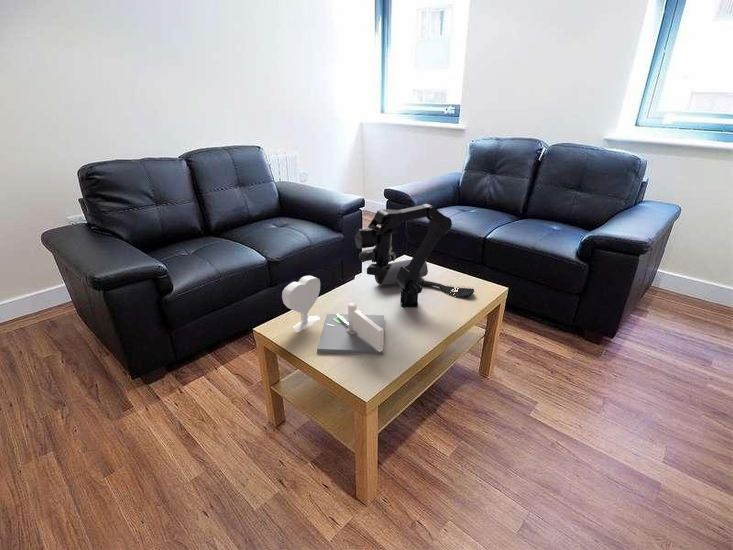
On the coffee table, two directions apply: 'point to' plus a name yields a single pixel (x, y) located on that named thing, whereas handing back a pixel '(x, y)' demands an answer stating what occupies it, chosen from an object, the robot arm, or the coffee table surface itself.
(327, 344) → the grey flat panel
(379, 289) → the coffee table surface
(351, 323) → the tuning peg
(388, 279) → the bluetooth speaker
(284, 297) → the heart sculpture
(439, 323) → the coffee table surface
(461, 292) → the hairbrush
